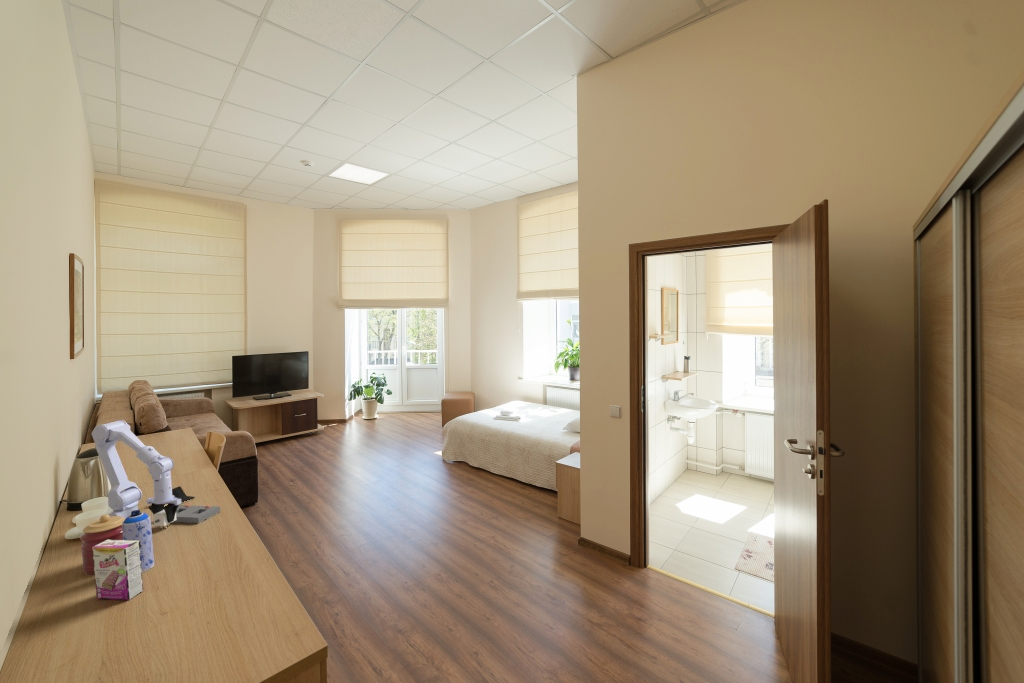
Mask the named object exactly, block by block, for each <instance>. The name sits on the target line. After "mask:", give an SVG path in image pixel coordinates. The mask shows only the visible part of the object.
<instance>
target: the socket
mask: <svg viewBox="0 0 1024 683" xmlns="http://www.w3.org/2000/svg"><path fill="white" fill-rule="evenodd" d="M220 507H221V506H213V505H209V504H207V505H191V504H184V505H183V504H180V505H179V506H178V508H177V510H176V518H177V520H176V521H173V522H172V523H174V522H184V523H183V524H195V523H199V524H201V523H202V521H203V522H205V521H206V520H205V519H207V518H208V519H210V518H212V517H214V516H216V515H217V514H216V513H218V512H220V513H221V508H220ZM215 514H216V515H215ZM218 514H219V513H218ZM213 515H214V516H213ZM211 516H212V517H211ZM209 517H210V518H209ZM208 519H207V520H208ZM204 520H205V521H204ZM185 522H186V523H185ZM200 522H201V523H200Z"/></svg>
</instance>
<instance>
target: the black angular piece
mask: <svg viewBox="0 0 1024 683" xmlns="http://www.w3.org/2000/svg"><path fill="white" fill-rule="evenodd" d="M172 495H174V497H175V498H178V499H181V503H182V502H184V501H187V500H190V499H192V498H195V497H196V496H191V495H190V496H189V495H187V494H186V493H185V492H184V489H183V488H182V487H181V486H177V487H174V488H172ZM195 499H196V498H195ZM192 500H193V499H192ZM190 501H191V500H190ZM187 502H188V501H187ZM182 504H183V503H182ZM164 505H165V504H164Z"/></svg>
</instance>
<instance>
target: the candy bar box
mask: <svg viewBox="0 0 1024 683" xmlns="http://www.w3.org/2000/svg"><path fill="white" fill-rule="evenodd" d="M92 550H93V561H94V571H95V574H94V580H95V594H96V599H97V600H114V601H116V600H117V601H118V600H119V601H130V600H132V599H133V597H134V598H135V597H136V596H138V595H139V594H141V593H143V592H144V586H143V585H144V584H143V575H142V574H143V572H142V571H141V559H140V546H139V541H137V540H105V541H103V542H101V543H99V544H97V545H95V546H93V547H92ZM140 592H141V593H140ZM137 594H138V595H137Z"/></svg>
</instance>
